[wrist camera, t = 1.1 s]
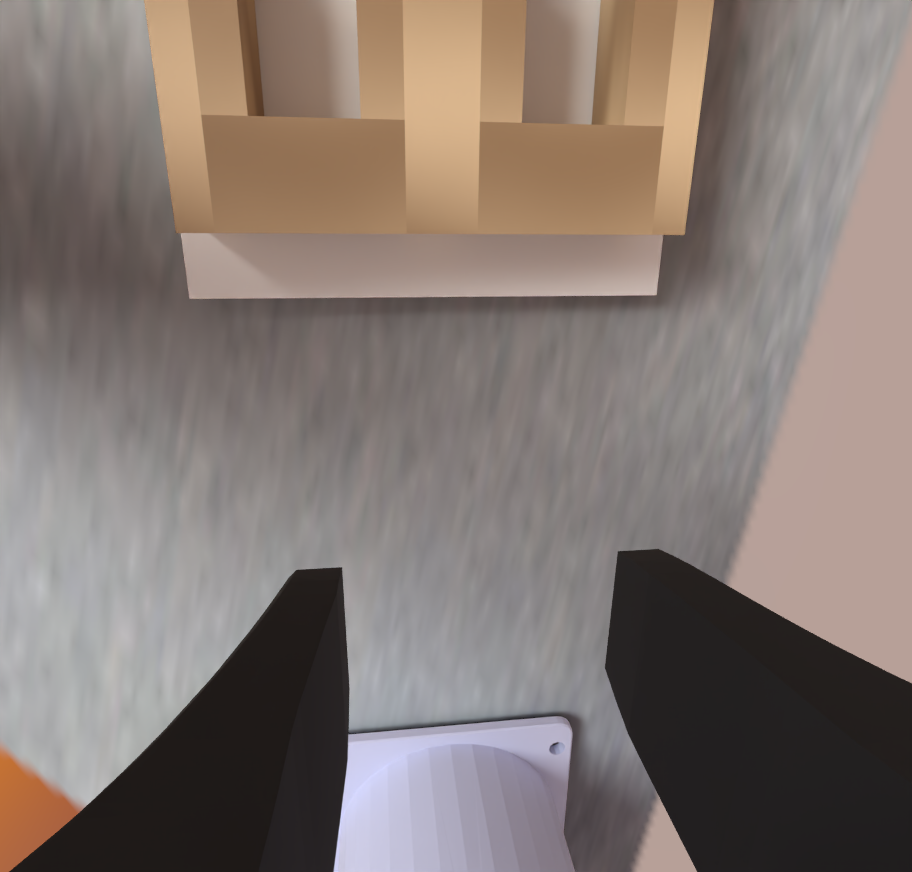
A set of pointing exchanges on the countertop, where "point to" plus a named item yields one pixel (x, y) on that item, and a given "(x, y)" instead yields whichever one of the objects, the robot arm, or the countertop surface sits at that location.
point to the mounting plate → (418, 255)
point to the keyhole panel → (432, 125)
